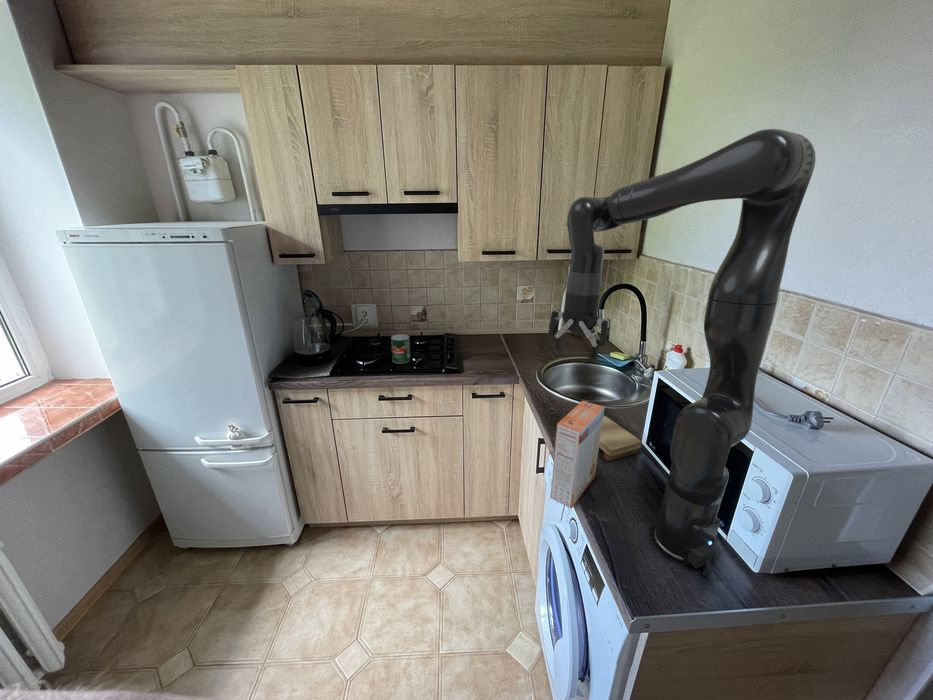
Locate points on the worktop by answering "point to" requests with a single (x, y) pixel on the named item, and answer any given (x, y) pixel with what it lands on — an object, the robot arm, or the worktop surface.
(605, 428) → the tan wooden slab
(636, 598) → the worktop surface
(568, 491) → the cracker box
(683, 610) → the worktop surface
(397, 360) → the canned tomato
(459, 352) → the worktop surface
